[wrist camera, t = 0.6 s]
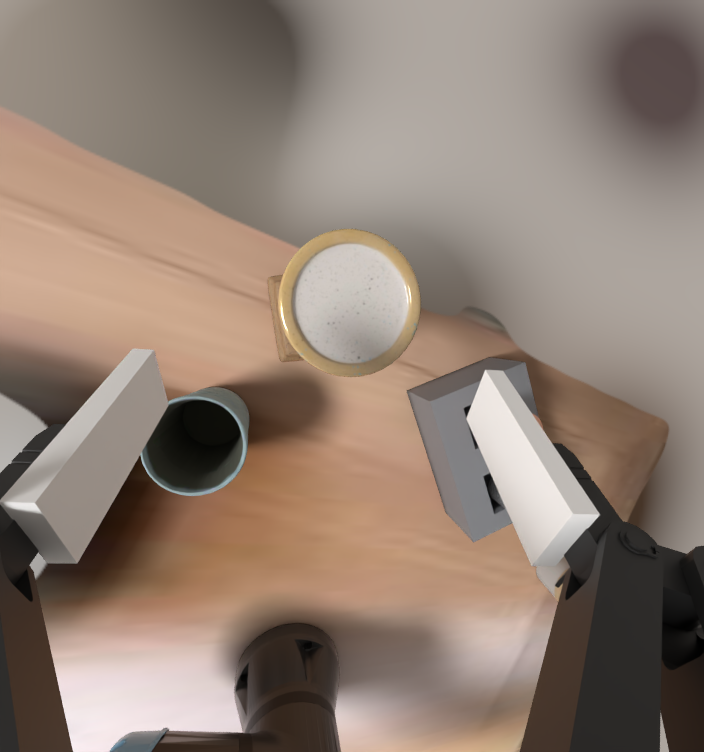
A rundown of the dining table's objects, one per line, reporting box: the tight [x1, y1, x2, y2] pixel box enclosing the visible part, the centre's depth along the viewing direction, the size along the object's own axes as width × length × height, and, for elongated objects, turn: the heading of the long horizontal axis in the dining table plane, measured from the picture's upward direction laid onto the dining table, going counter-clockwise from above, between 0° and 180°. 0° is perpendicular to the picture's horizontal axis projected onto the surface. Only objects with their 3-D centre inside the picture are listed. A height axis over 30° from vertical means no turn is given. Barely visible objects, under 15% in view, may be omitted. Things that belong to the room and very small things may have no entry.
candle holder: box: [268, 229, 421, 377], centre depth 36 cm, size 11×11×24 cm
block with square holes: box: [407, 357, 539, 542], centre depth 51 cm, size 21×14×8 cm, turn 20°
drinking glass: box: [141, 387, 249, 496], centre depth 41 cm, size 10×10×12 cm
